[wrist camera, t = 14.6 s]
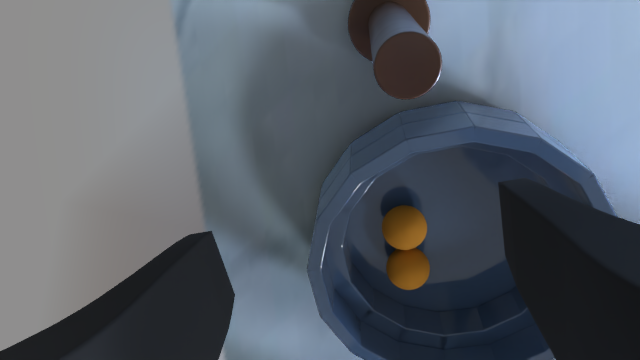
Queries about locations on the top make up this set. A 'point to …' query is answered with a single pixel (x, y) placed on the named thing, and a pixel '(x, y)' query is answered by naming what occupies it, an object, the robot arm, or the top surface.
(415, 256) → the bead
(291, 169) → the top surface
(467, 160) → the bowl
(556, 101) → the top surface
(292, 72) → the top surface
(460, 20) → the top surface
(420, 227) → the bead
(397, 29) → the stick
